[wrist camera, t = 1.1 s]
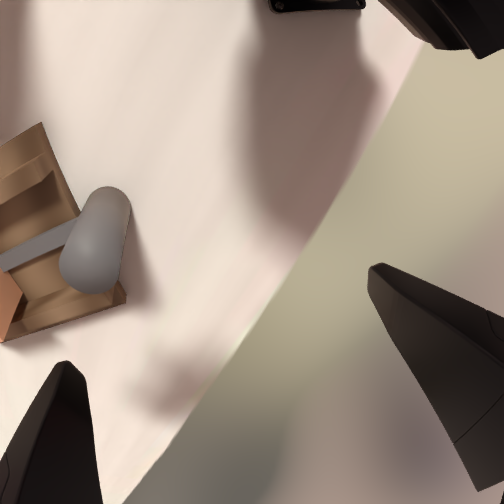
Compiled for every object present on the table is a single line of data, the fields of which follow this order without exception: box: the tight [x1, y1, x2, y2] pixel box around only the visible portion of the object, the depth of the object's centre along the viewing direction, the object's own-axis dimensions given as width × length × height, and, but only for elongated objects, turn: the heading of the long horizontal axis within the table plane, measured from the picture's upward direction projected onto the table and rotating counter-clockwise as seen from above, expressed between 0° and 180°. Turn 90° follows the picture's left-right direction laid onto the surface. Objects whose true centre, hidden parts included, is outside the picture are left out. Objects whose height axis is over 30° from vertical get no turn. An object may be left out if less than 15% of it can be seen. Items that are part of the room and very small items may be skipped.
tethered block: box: [0, 187, 131, 342], centre depth 15 cm, size 17×6×6 cm, turn 103°
